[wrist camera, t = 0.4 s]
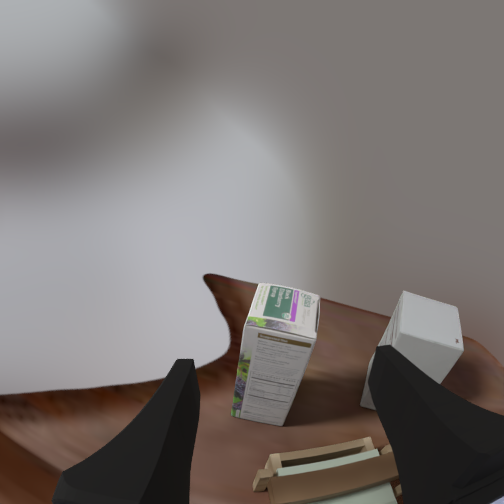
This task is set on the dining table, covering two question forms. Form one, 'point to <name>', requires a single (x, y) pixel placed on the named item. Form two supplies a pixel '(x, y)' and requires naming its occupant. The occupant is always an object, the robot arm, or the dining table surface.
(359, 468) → the light brown wooden bar
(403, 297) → the supplement box
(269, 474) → the tan wooden frame
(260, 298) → the syrup box
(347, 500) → the lid
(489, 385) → the dining table surface
